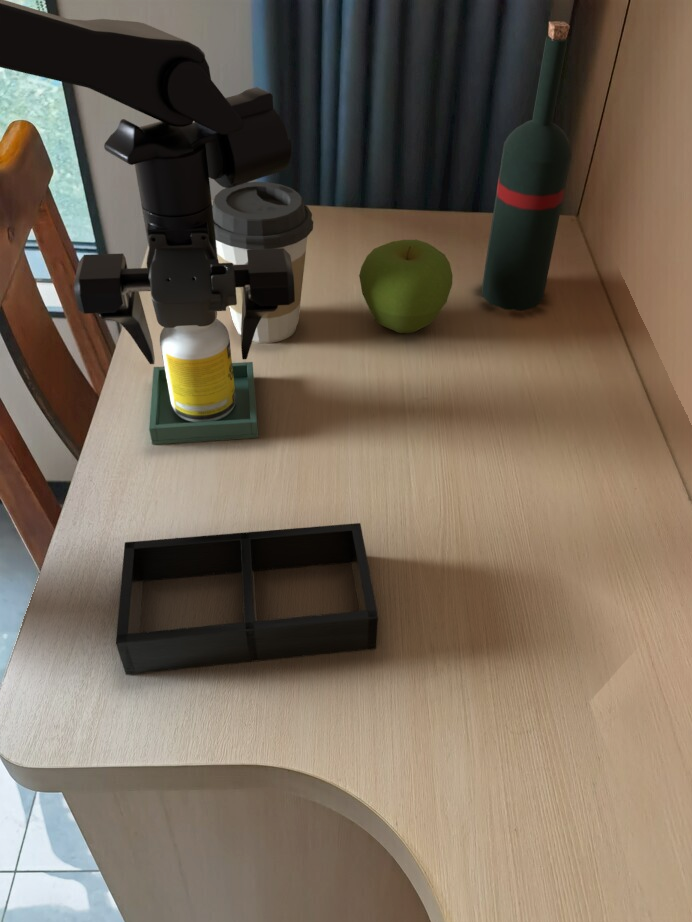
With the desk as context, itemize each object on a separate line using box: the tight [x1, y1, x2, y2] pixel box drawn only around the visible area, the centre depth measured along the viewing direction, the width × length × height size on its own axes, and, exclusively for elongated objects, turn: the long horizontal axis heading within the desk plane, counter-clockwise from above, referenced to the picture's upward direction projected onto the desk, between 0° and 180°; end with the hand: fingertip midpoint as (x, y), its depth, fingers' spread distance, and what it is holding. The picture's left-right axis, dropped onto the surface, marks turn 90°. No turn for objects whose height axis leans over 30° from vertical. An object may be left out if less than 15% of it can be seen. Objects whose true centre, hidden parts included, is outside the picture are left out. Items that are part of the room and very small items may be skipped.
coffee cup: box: [212, 181, 314, 344], centre depth 88 cm, size 11×11×15 cm
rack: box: [115, 522, 379, 676], centre depth 63 cm, size 19×10×4 cm, turn 99°
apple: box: [358, 239, 453, 334], centre depth 91 cm, size 11×10×10 cm
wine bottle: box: [481, 21, 572, 311], centre depth 91 cm, size 8×10×30 cm
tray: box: [148, 361, 259, 445], centre depth 81 cm, size 10×10×2 cm
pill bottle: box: [159, 311, 236, 422], centre depth 77 cm, size 6×6×12 cm
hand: (198, 359), depth 77 cm, fingers open, 8 cm apart
